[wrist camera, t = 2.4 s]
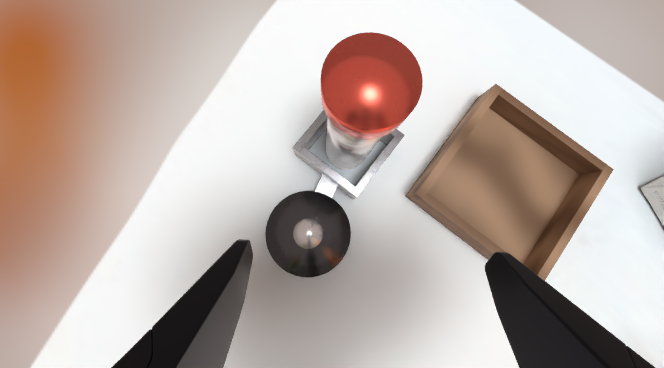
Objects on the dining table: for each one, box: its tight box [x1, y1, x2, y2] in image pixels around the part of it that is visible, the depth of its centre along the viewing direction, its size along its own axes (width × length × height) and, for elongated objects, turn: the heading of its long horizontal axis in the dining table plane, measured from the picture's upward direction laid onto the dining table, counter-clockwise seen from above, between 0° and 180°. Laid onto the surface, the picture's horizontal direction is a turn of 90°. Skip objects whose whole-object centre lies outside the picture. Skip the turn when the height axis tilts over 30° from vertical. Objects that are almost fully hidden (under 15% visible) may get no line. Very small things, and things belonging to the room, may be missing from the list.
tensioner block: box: [266, 111, 404, 277], centre depth 21 cm, size 15×9×2 cm, turn 142°
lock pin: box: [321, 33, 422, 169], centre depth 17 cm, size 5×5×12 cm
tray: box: [406, 84, 614, 281], centre depth 22 cm, size 12×12×2 cm
